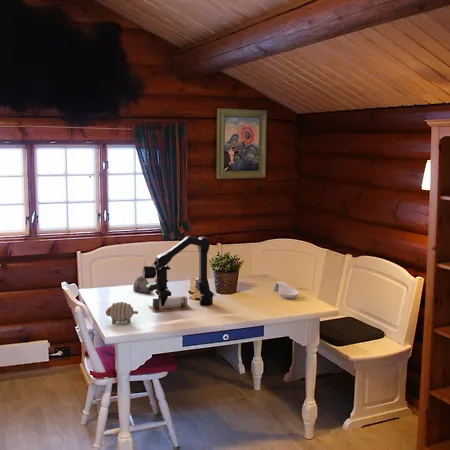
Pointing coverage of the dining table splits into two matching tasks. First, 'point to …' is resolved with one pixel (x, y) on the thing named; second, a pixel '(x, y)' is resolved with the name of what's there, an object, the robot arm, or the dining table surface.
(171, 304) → the tongs arm
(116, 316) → the toy sheep
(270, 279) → the dining table surface
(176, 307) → the board
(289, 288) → the spoon rest
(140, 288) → the mineral rock
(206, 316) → the dining table surface
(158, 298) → the frame
